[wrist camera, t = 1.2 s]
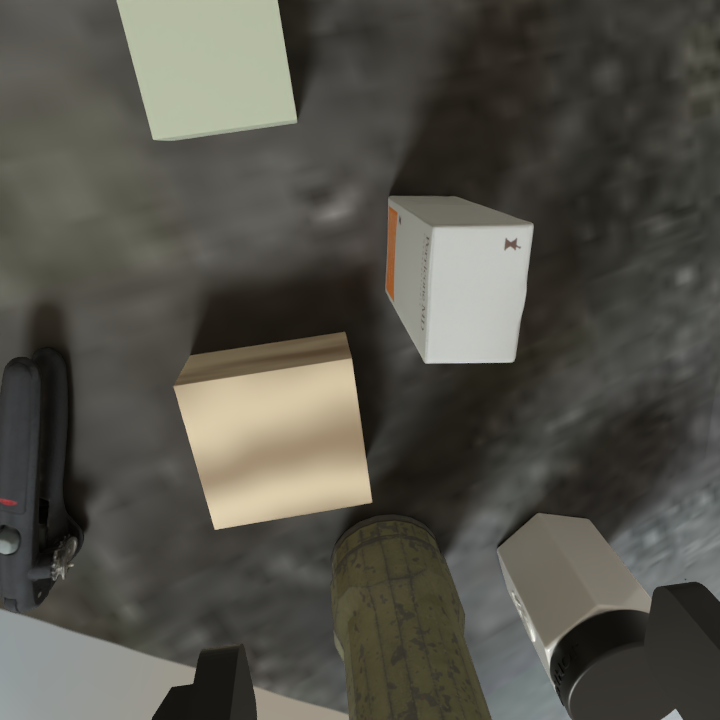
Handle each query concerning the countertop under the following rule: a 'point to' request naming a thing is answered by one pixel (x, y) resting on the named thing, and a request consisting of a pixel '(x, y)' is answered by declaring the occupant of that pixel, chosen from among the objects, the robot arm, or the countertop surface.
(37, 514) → the can opener
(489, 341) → the skincare box
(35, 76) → the countertop surface
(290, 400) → the beech block
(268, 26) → the sage block
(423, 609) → the thermos
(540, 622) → the jar
